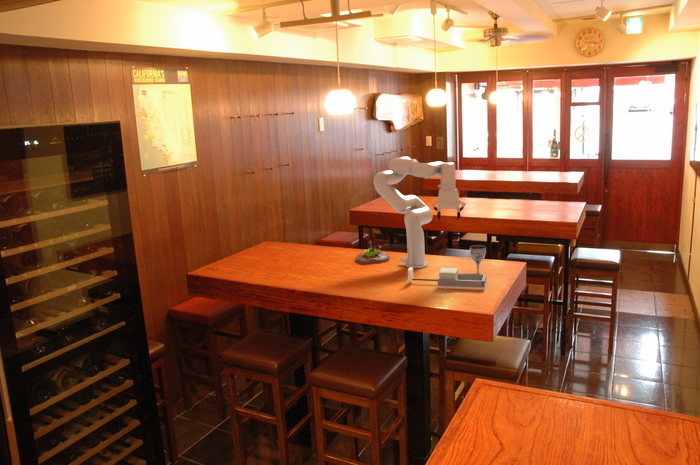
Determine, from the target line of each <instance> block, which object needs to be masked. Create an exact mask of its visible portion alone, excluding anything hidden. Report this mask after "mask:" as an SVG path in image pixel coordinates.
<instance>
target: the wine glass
mask: <svg viewBox="0 0 700 465" xmlns="http://www.w3.org/2000/svg"><path fill="white" fill-rule="evenodd" d="M486 249H487V247H486V246H485V245H479V244H476V245H470V246H469V253H470V254H469V255H470V258H471V260H472V261H473V262H474V263H475V264H476V273H474V274H482V273H481V272H480V264H481V263H482V261H483V260H484V259H485V256H486V253H487V252H486V251H487V250H486Z"/></svg>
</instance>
